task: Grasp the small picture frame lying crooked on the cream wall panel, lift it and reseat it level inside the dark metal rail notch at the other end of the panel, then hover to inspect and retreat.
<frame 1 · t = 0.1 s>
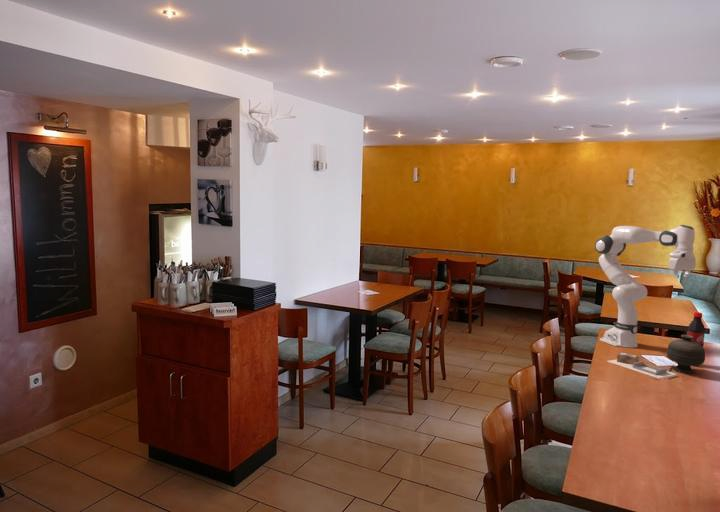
hand: (681, 277, 304), 48 cm above the table, fingers open, 8 cm apart
wall panel: (640, 369, 286), on the table
cola bottle: (692, 364, 299), on the table
pot: (683, 371, 287), on the table
frame: (627, 362, 294), point 1 cm above the table, touching wall panel
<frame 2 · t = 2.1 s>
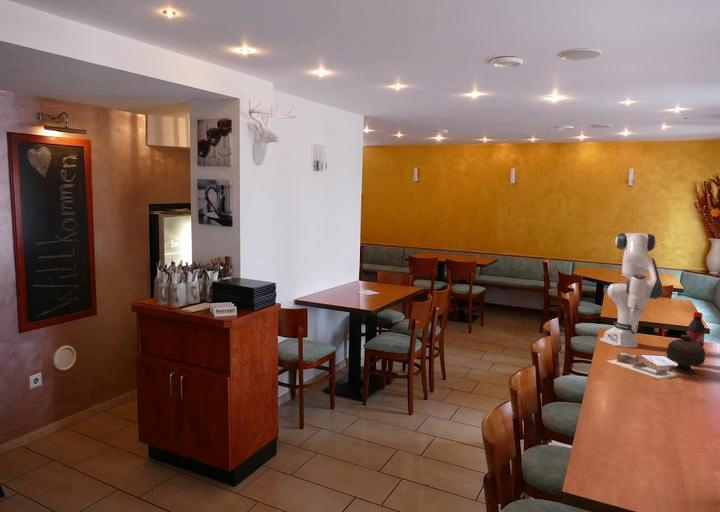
hand: (634, 328, 293), 20 cm above the table, fingers open, 8 cm apart
nothing on the table moved.
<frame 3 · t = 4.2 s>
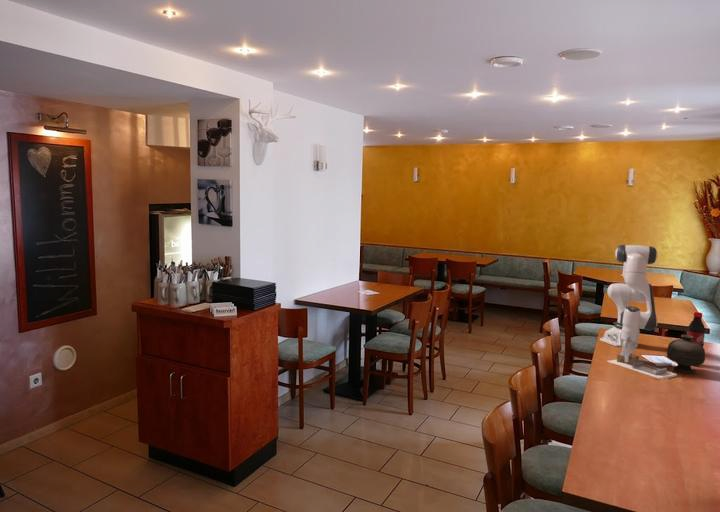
hand: (627, 360, 294), 2 cm above the table, fingers closed on frame, 5 cm apart
frame: (627, 362, 294), point 1 cm above the table, touching gripper, wall panel
everything else where it was.
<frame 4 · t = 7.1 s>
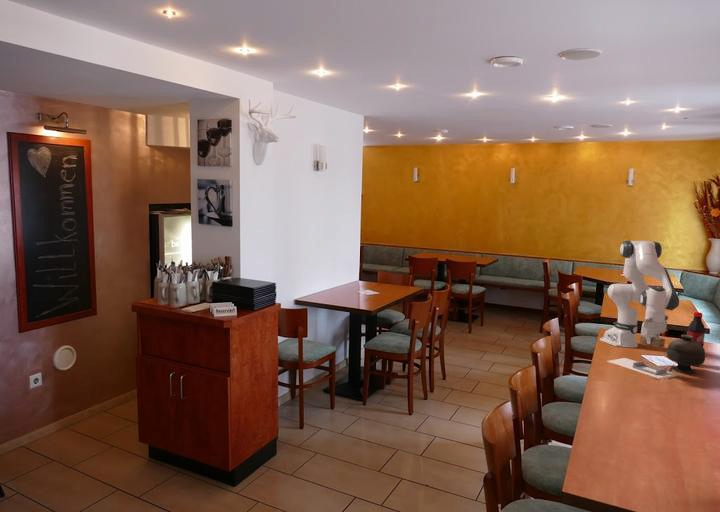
hand: (652, 342, 280), 16 cm above the table, fingers closed on frame, 5 cm apart
frame: (651, 344, 280), point 15 cm above the table, touching gripper
everything else where it was.
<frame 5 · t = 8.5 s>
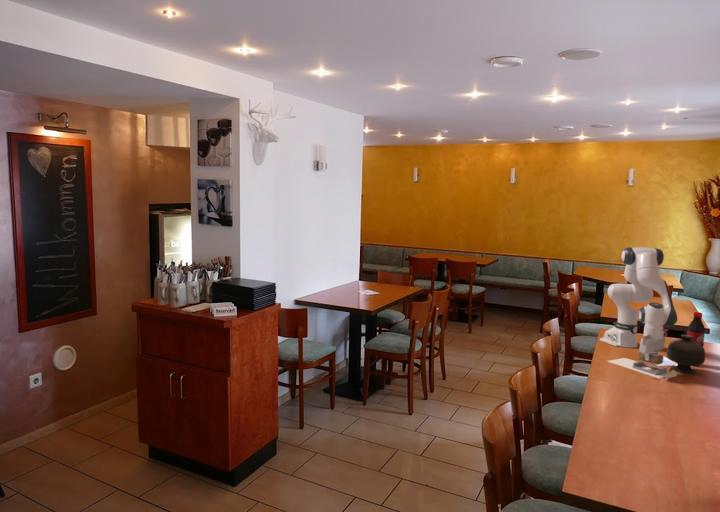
hand: (650, 359, 281), 7 cm above the table, fingers closed on frame, 5 cm apart
frame: (650, 361, 281), point 6 cm above the table, touching gripper
everything else where it was.
when the fingers open (3 cm above the table, at t = 9.8 s): frame stays where it is, resting on wall panel.
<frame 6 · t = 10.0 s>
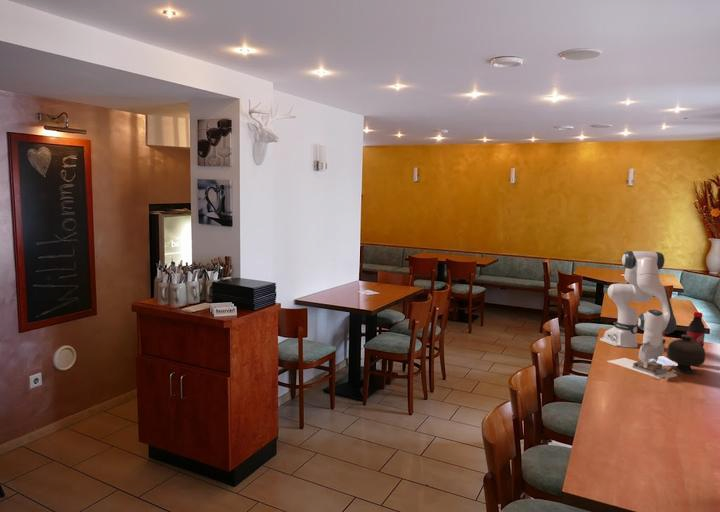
hand: (649, 366, 282), 3 cm above the table, fingers open, 8 cm apart
frame: (649, 370, 282), point 1 cm above the table, touching wall panel
everything else where it was.
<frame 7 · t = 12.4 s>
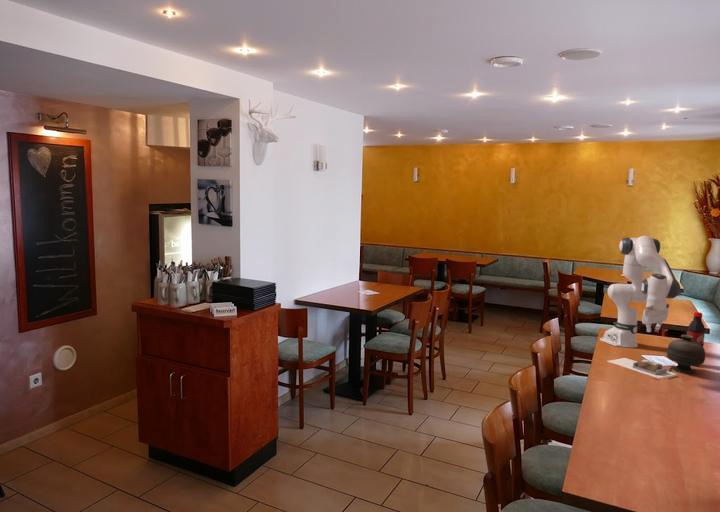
hand: (653, 330, 280), 23 cm above the table, fingers open, 8 cm apart
nothing on the table moved.
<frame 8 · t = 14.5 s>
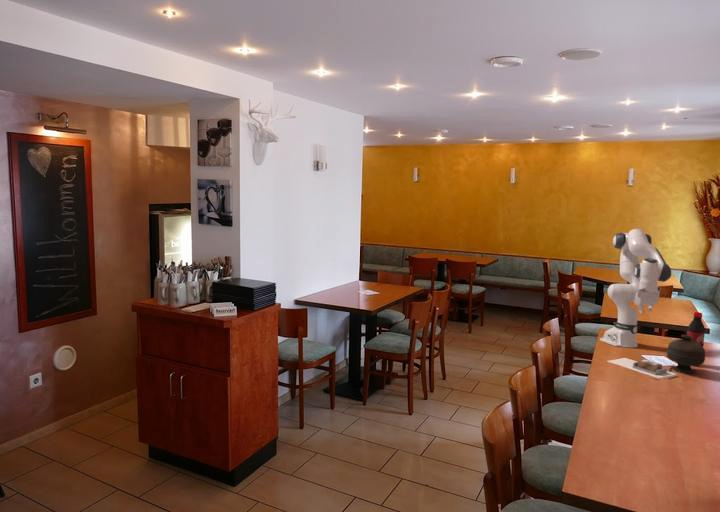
hand: (645, 312, 296), 29 cm above the table, fingers open, 8 cm apart
nothing on the table moved.
at the end: frame 0.1 cm from the target spot on the wall panel, point 1.2 cm above the wall panel's base; frame tilted 0°; the gripper is holding nothing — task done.
